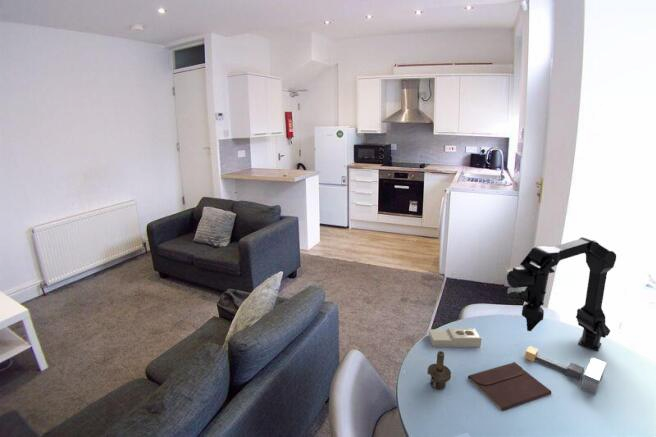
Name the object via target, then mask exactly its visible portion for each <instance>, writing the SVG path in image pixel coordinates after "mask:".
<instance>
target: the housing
mask: <svg viewBox="0 0 656 437" xmlns="http://www.w3.org/2000/svg"><path fill="white" fill-rule="evenodd" d="M606 366H607V362H606V361H603V360H601V359H597V358H596V357H594V356H593V357H591V358H590V360H589V362H588V365H587V367H586V369H585V371H584V372H583V375H582V382H581V385H580V390H582V391H585V392H587V393H590V394H592V395H594V396H597V395H596V394H597V393H598V390H599V384H600V382H602V379H603V376H604V375H605V374H604V372H605V368H606Z"/></svg>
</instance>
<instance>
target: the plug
mask: <svg viewBox="0 0 656 437" xmlns="http://www.w3.org/2000/svg"><path fill="white" fill-rule="evenodd" d="M524 359H525V360H529V361H531V362H535V361H536V362H538V363H541V364H542V365H544V366H545V365H546V366H548V367H550V368H552V369H555V370H558V371H560V372H562V373H564V374H565V376H566V377H569V378H571V379H573V380H576V381H578V382H581V379H583V376H584V372H585V371H584V370H585V367H583V366H581V365H579V364H576V363H573V362H570V363H569V365H568V366H567V365H564V364H561V363H558V362H556V361H554V360H552V359H549V358H547V357H545V356H542V355H539V349H538V348H536V347H533V346H528V347H527V349H526V350H525V355H524Z"/></svg>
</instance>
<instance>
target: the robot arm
mask: <svg viewBox="0 0 656 437" xmlns="http://www.w3.org/2000/svg"><path fill="white" fill-rule="evenodd" d="M582 254H585V263H586V265H587V267H588V268H589V274H588V280H587V281H588V282H587V288H586V295H585V301H584V305H583V306H582V307H580V308H578V309H576V315H575V318H576V321H577V325H578V326H580V327H582V328H583V330H582V334H581V337H580V339H578V342H577V345H579V346H582V347H585V348H587V349H591V350H593V351H596V352H599V350H600V348H601V346H602V342H601V339H602V338H603V339H605V338H606V337H608V336H609V334H610V333H611V330H610V328H609V327H608V326H607V325H606V314H605V313H604V311H603V309H602V307H603V301H604V293H605V287H606V281H607V275H608V272H609V271H611V270H612V269H613V268H614V267H615V264H616V261H617V254H616V253H615V251H612V250H610V249H608V248H606V247H604V246H603V245H601V244H600V243H598V242H597V240H593V239H592V238H589V237H585V236H582V237H580V238H578V239H576V240H572V241H568V242H564V243H562V244H558V245H555V246H544V245H541V246H534V247H533V248H531V250H530V251H529V252H528V253H527V255H526V256H525V257H524V258H523V260H522V261H521V262H520V264H519V265H520V266H519V267H518V266H517V267H516V266H515V267H513V268H512V270H510V271H509V272H508V273H507V274H506V282H507V284H508V285H509V287H508V288H507V291H506V293H507V298H508V300H509V301H512V302H513V301H521V300H523V303H525V304H524V305H522V309H521V316H522V317H524V318H525V321H526V331H528V332H532V330H533V329H535V327H536V326H537V325H538V324H539V323H540V322H542V321H543V320H544V316H545V314H544V313H545V312H544V311H545V310H544V309H543V308H542V306H544V305H545V304H544V303H545V296H546V292H547V287H548V285H547V284H548V282H549V281H548V280H549V275H550V274H553V273H555V270H554V269H553V268H554V267H555V266H557V265H559V263H560V262H561V261H562V260H566V259H569V258H573V257H575V256H579V255H582ZM521 266H522V267H521Z"/></svg>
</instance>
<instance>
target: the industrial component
mask: <svg viewBox="0 0 656 437" xmlns="http://www.w3.org/2000/svg"><path fill="white" fill-rule="evenodd" d="M444 360H445V352H444V351H442V350H439V351H437V354H436V363H432V364H430V365H429V366H427V374H428V375H429V376H430V386H432V389H434V390H444V389H445V388H446V385H447V382H449V381H450V380H451V377H452V371H451V369H450V368H449V367H447V366H446V365H444V363H445V362H444Z"/></svg>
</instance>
